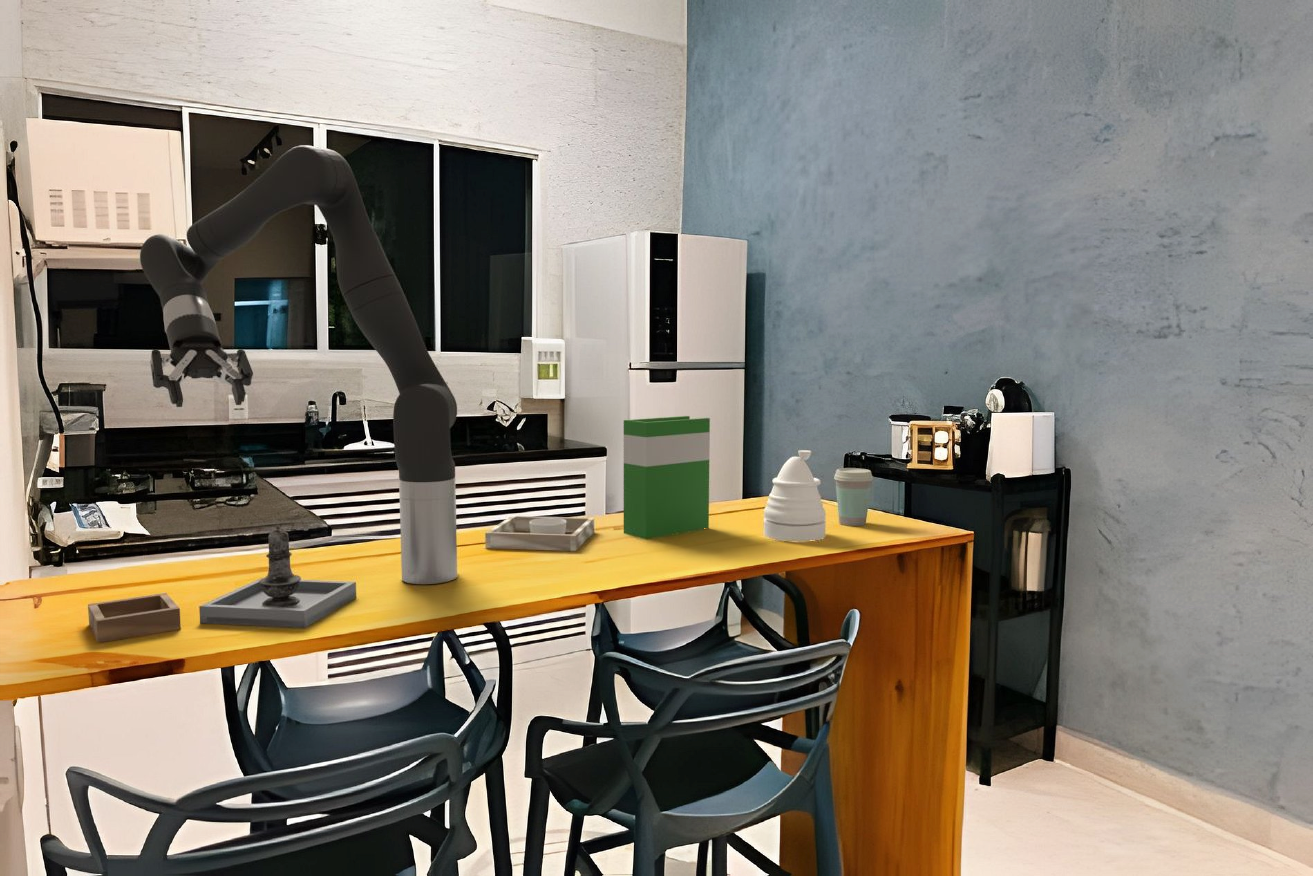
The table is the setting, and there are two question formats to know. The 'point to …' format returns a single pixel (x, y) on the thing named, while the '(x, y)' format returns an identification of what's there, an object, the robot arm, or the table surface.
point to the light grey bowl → (548, 526)
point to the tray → (249, 610)
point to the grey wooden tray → (538, 535)
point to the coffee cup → (853, 495)
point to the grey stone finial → (279, 572)
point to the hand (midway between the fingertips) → (210, 402)
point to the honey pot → (795, 504)
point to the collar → (133, 617)
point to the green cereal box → (666, 476)
